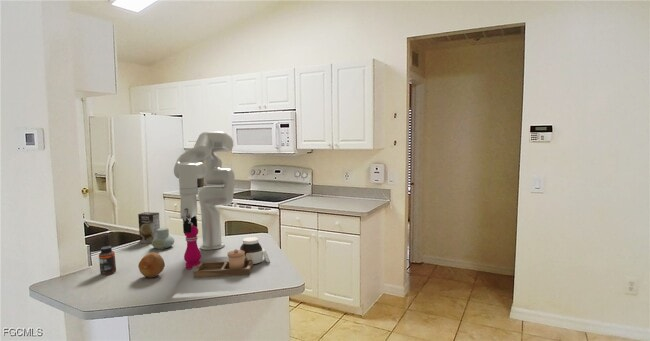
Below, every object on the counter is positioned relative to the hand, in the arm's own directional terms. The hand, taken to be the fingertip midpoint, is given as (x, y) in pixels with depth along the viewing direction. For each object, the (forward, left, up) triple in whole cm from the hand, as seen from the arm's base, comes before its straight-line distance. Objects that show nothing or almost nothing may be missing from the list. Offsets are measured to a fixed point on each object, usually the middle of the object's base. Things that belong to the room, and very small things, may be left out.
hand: (190, 230), depth 165 cm
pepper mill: (-1, 0, -17) cm, 17 cm away
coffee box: (-47, -36, -17) cm, 62 cm away
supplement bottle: (+2, -35, -17) cm, 39 cm away
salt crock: (+11, +21, -16) cm, 29 cm away
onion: (+9, -14, -17) cm, 24 cm away
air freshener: (-34, -24, -17) cm, 45 cm away
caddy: (+11, +16, -17) cm, 26 cm away
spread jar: (0, +28, -17) cm, 33 cm away
